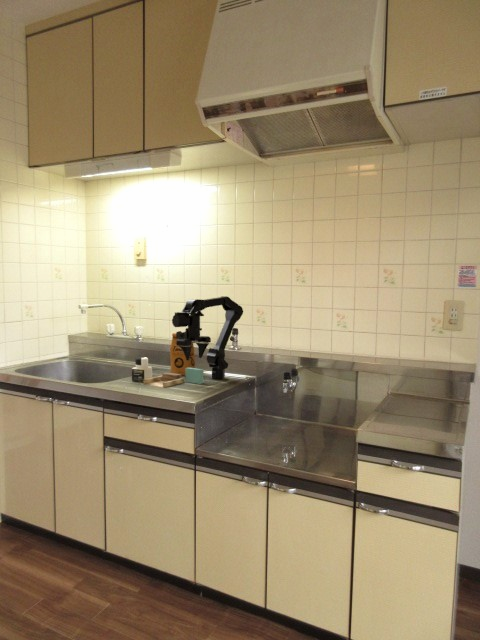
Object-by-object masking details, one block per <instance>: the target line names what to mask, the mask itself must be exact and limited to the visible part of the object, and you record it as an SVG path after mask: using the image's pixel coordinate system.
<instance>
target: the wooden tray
mask: <svg viewBox="0 0 480 640" xmlns="http://www.w3.org/2000/svg"><path fill="white" fill-rule="evenodd" d="M161 377H162V375H158V376H154V377H152V378H149V379H145V380H144V382H143V385H148V386H152V387H153V386H154V387H159V388H168V387H172V386H176V385H178V384H179V385H180V384H184V383H185V382H186V377H181V378H180V379H176V380H172V381H168V382H164V381H161Z"/></svg>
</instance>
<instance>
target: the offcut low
mask: <svg viewBox="0 0 480 640" xmlns="http://www.w3.org/2000/svg"><path fill="white" fill-rule="evenodd" d="M179 379H180V378H179ZM172 380H176V379H170V378H162V377H161V381H164V382H168V381H172Z"/></svg>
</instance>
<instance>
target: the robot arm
mask: <svg viewBox="0 0 480 640" xmlns="http://www.w3.org/2000/svg"><path fill="white" fill-rule="evenodd" d="M217 306H218V307H219V306H222V309H223V310H224V311H225V314H224V315H225V316H224V317H225V321H224V323H223V326H222V328H221V331H220V333H219V336H218V338H217V341H216V343H215V345H214V347H209V349H208V352H207V353H206V361H207V363H208V366H209V368H211V380H214V381H215V380H217V381H218V380H224V379H225V380H228V378H227V377H226V376H225V375H226V372H225V371H226V369H228V367H229V363H228V362H227V361H226V360H225V358H226V354H225V353H226V351H225V349H226V347H227V344H228V342H229V339H230V337H231V334H232V332H233V329H234V327H235V325H236V323H237V322H239V320H240V319H241V317H242V316H243V314H244V308H243V306H241V305H239V303H237V302H235V301H234V300H233V299H231V298H230V297H229V296H218V297H213V298H212V297H211V298H207V299H206V298H205V299H194V298H192V299H191V298H190V299H187V300H186V302H185V305H184V307H183V309H182V310H181V312H179V311H175V312H174V315H173V316H172V320H171V322H172V326H173V327H174V328H184V327H186V328H185V331H183V332H182V331H176V338H177V339H178V340H177V341H176V345H178V346H179V347H180V348H182V350H183V352H184V354H185V357H186V360H187V361H189V358H190V353H191V348H192V346H190V345H191V343H193V344H196V345H197V347H198V348H197V349H198V358H199V359H202V357H203V355H204V354H205V351H206V349H207V348H208V346H209V345H210V343H212V342H211V340H212V339H211V337H210V336H208V335H207V336H206V335H201V331H203V328H201V317H204V316H205V314H204V313H203V312H202V311H204V310H205V309H207V308H212V307H213V308H214V307H217Z"/></svg>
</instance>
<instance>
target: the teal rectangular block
mask: <svg viewBox="0 0 480 640" xmlns="http://www.w3.org/2000/svg"><path fill="white" fill-rule="evenodd" d="M185 375H186V376H185V382H187V383H192V384H197V385H198V384H199V385H202V384H204V377H205V376H204V369H202V368H197V367H195V368H185Z"/></svg>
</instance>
